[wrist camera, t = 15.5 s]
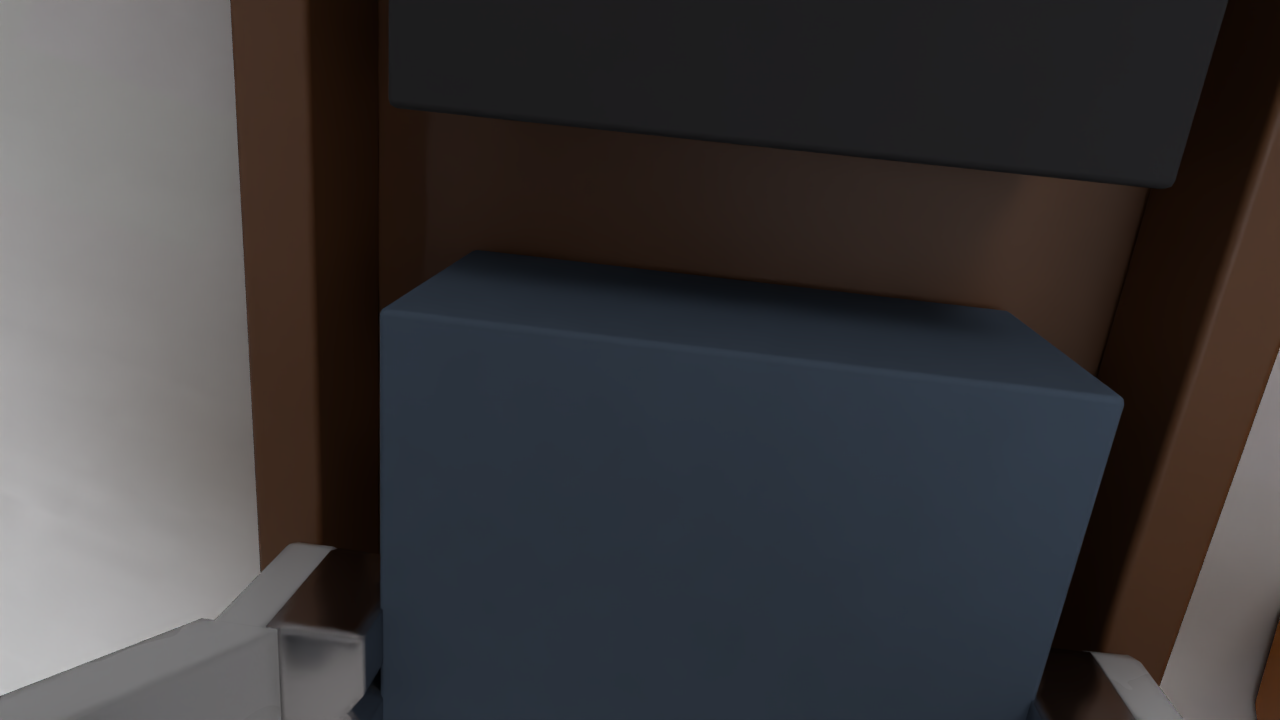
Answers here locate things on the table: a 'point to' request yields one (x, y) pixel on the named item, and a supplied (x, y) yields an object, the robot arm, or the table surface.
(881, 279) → the frame
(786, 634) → the slate pad
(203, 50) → the table surface
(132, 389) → the table surface
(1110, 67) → the charcoal pad
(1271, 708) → the mug
